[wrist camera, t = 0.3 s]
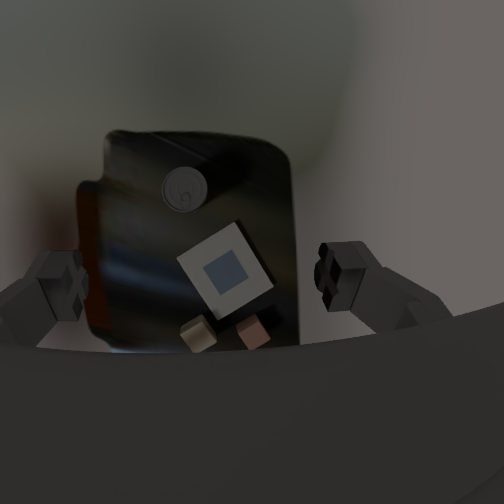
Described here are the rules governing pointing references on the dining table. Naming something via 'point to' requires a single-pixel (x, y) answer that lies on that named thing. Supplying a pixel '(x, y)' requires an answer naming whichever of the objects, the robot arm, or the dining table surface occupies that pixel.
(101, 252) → the dining table surface
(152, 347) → the dining table surface
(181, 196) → the canned tomato
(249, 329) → the terracotta block
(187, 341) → the birch block
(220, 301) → the white flat square slab
